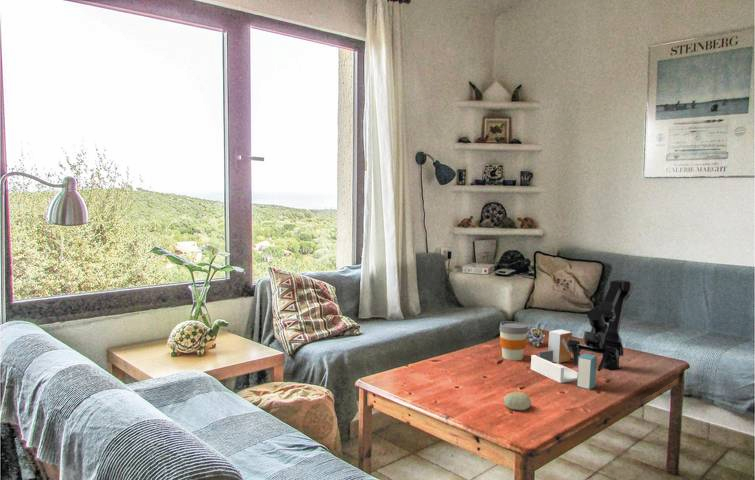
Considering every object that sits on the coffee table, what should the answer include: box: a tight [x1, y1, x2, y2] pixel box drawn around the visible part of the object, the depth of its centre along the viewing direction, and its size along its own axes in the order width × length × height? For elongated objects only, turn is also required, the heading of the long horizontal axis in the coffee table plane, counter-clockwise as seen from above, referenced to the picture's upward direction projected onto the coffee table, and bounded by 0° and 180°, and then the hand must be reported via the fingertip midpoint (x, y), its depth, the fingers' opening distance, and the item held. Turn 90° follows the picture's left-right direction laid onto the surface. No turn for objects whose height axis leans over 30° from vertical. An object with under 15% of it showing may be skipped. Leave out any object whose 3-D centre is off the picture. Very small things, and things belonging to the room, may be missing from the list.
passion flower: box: [526, 323, 546, 348], centre depth 279 cm, size 11×11×12 cm
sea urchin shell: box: [503, 391, 532, 411], centre depth 200 cm, size 9×8×8 cm
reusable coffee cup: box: [499, 321, 529, 361], centre depth 257 cm, size 12×13×15 cm
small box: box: [547, 328, 573, 364], centre depth 253 cm, size 8×6×13 cm
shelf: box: [530, 350, 578, 384], centre depth 235 cm, size 14×18×8 cm
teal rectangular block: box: [576, 352, 598, 391], centre depth 221 cm, size 6×5×12 cm
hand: (586, 368), depth 220 cm, fingers open, 9 cm apart
